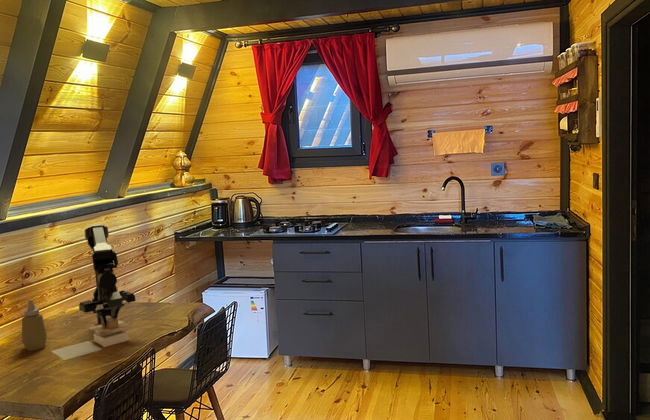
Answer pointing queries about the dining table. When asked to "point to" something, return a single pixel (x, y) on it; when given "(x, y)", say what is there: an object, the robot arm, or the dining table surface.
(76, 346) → the mat
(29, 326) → the squeeze bottle
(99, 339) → the dish
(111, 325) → the lid
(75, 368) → the dining table surface
